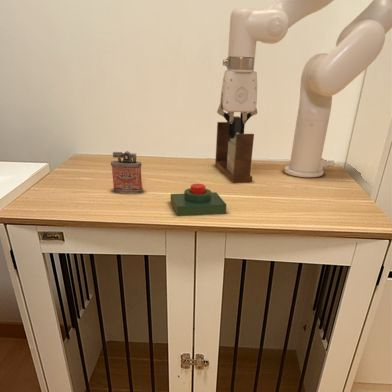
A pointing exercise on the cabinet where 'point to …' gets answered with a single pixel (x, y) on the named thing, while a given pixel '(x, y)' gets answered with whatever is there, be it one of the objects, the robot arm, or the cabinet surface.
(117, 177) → the lighter
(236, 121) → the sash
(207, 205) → the alarm box
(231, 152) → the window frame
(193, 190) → the button
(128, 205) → the cabinet surface
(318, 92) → the robot arm
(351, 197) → the cabinet surface
